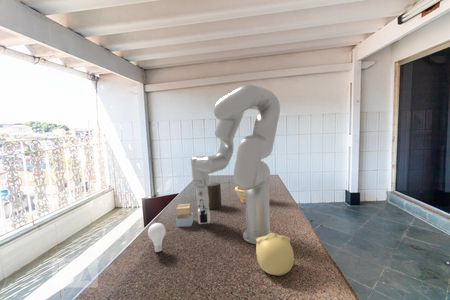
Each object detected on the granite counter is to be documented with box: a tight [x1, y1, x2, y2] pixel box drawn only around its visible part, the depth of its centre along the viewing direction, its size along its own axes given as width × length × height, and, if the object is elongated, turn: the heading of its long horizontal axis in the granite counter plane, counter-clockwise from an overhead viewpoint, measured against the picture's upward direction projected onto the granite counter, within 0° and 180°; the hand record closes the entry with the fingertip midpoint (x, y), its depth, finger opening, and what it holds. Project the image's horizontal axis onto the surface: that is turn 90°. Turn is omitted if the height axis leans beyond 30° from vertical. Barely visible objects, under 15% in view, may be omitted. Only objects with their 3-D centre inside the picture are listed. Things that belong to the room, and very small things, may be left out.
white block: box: [197, 207, 211, 225], centre depth 109 cm, size 5×5×6 cm
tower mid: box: [175, 203, 192, 219], centre depth 111 cm, size 6×6×5 cm
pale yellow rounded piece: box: [255, 232, 295, 276], centre depth 73 cm, size 12×12×11 cm
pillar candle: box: [208, 181, 222, 211], centre depth 133 cm, size 10×10×15 cm
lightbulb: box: [147, 222, 166, 253], centre depth 87 cm, size 6×6×11 cm
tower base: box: [175, 212, 194, 228], centre depth 112 cm, size 7×7×4 cm
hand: (204, 219), depth 109 cm, fingers closed on white block, 5 cm apart
